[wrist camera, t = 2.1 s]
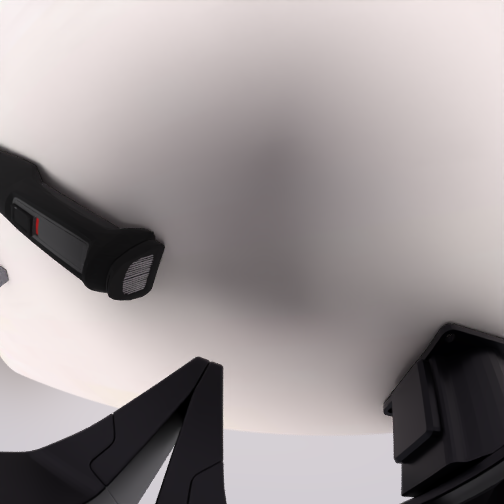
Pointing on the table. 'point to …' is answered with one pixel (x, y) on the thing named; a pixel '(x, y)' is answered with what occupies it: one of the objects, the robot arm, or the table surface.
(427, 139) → the table surface
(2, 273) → the charging dock
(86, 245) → the electric trimmer
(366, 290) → the table surface
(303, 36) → the table surface
